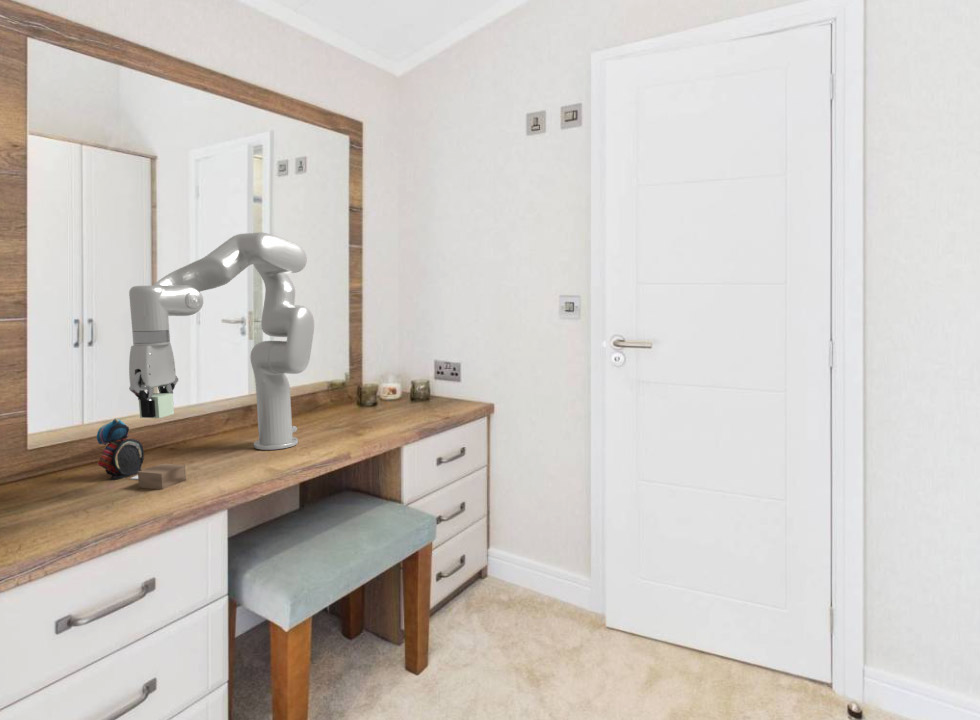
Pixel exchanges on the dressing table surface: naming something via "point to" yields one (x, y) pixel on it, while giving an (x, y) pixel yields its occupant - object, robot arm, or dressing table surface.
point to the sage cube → (161, 405)
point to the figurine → (119, 451)
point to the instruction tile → (135, 477)
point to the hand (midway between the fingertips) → (157, 413)
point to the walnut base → (161, 476)
